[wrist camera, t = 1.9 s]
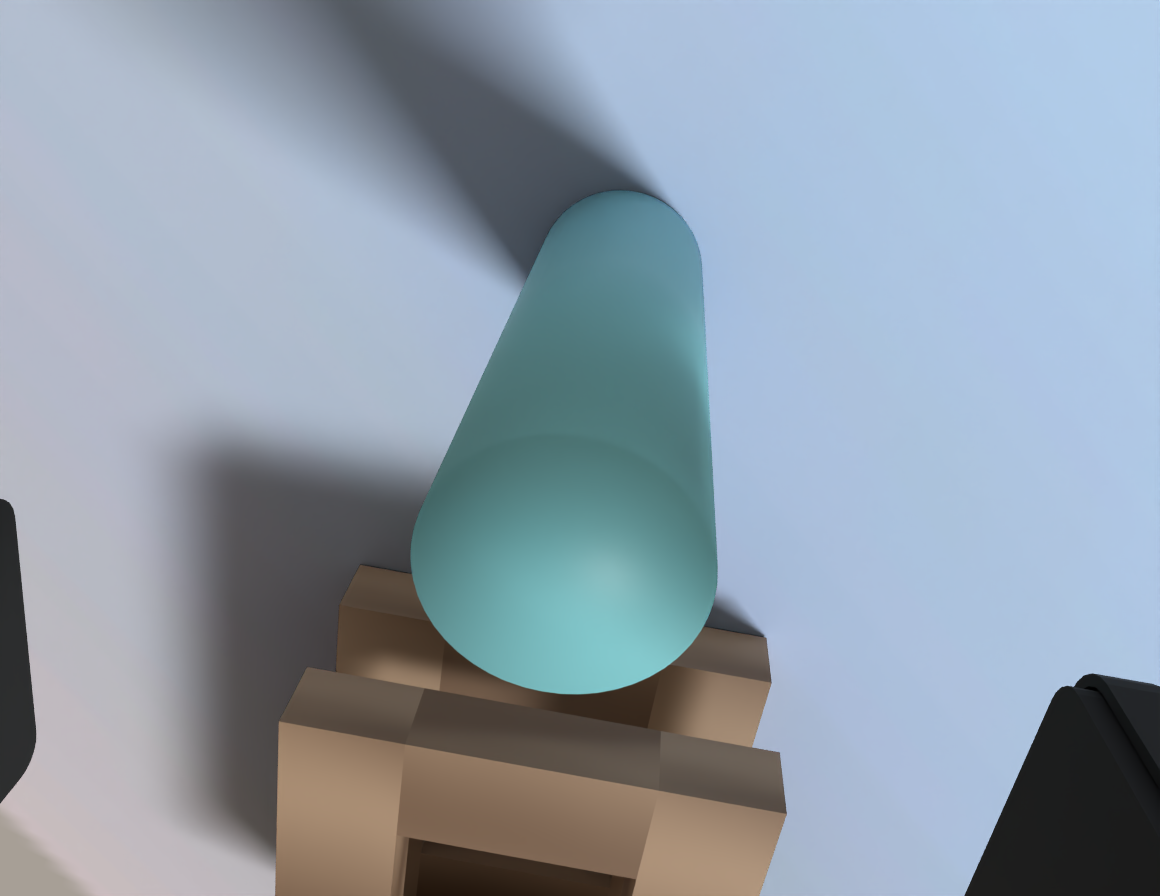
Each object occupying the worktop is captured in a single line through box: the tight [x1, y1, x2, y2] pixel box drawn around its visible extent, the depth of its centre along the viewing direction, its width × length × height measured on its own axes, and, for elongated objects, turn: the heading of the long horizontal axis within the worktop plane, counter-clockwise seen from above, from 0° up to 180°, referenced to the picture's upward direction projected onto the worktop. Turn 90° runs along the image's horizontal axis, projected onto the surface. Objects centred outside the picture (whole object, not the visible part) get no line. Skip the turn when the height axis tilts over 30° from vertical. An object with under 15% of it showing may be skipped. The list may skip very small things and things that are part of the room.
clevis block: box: [275, 565, 787, 896], centre depth 22 cm, size 11×9×5 cm
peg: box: [411, 190, 718, 694], centre depth 14 cm, size 3×3×10 cm
